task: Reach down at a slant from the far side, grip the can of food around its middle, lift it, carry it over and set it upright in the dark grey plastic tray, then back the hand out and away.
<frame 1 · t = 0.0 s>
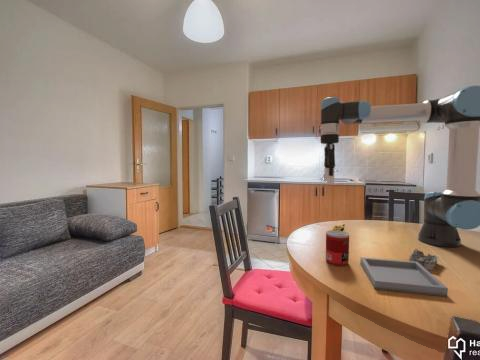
hand: (328, 182, 108), 28 cm above the table, tool pointing down, fingers open, 13 cm apart
remote control: (340, 229, 136), on the table
tray: (397, 278, 77), on the table
canned food: (336, 262, 90), on the table
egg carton: (423, 265, 88), on the table
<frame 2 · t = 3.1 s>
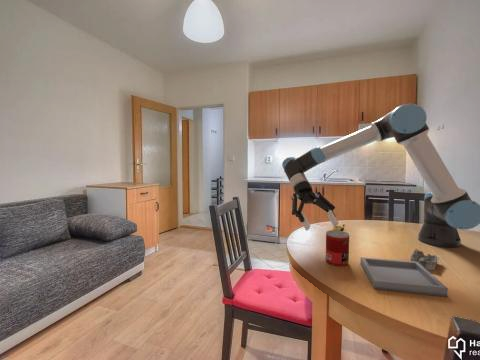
hand: (322, 226, 96), 11 cm above the table, tool tilted 45°, fingers open, 13 cm apart
nothing on the table moved.
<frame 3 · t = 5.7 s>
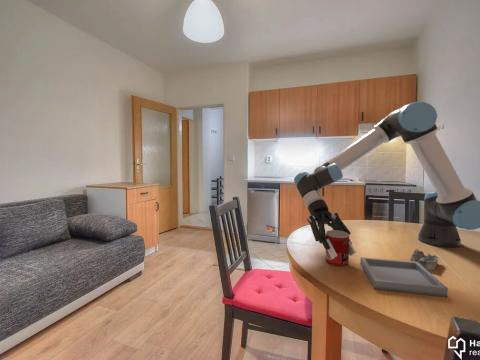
hand: (344, 255, 87), 4 cm above the table, tool tilted 45°, fingers closed on canned food, 8 cm apart
canned food: (336, 262, 90), on the table, touching gripper
everything else where it was.
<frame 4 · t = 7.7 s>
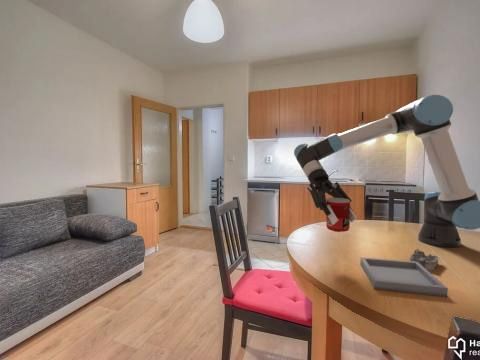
hand: (344, 221, 86), 16 cm above the table, tool tilted 45°, fingers closed on canned food, 8 cm apart
canned food: (337, 229, 89), point 12 cm above the table, touching gripper
everything else where it was.
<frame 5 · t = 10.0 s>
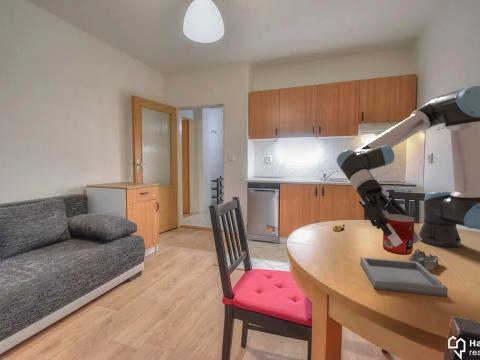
hand: (408, 243, 73), 13 cm above the table, tool tilted 45°, fingers closed on canned food, 8 cm apart
canned food: (397, 251, 77), point 9 cm above the table, touching gripper
everything else where it was.
when the fingers open (6 cm above the table, at t = 11.5 s): canned food drops 1 cm, resting on tray.
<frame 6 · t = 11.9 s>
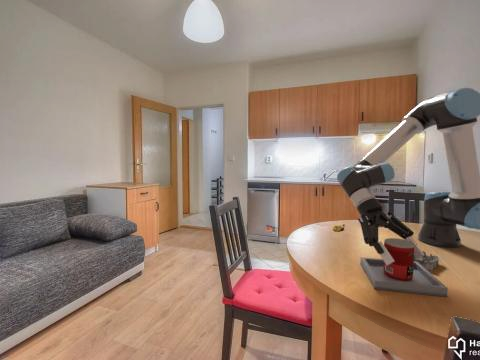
hand: (406, 260, 74), 7 cm above the table, tool tilted 45°, fingers open, 12 cm apart
canned food: (397, 276, 77), point 1 cm above the table, touching tray
everything else where it was.
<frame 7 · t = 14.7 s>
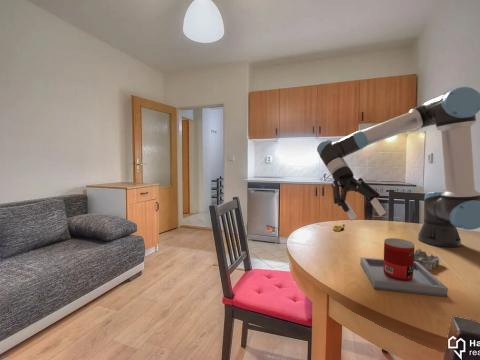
hand: (368, 216, 88), 17 cm above the table, tool tilted 40°, fingers open, 13 cm apart
nothing on the table moved.
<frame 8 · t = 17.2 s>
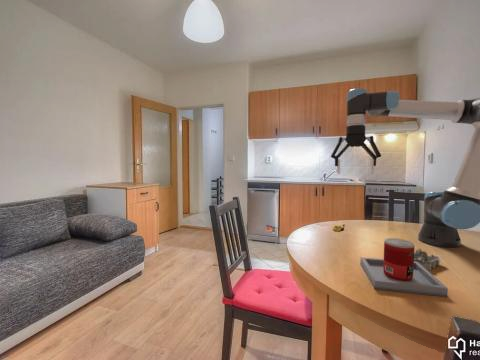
hand: (354, 173, 109), 32 cm above the table, tool pointing down, fingers open, 13 cm apart
nothing on the table moved.
at the end: canned food inside the target area on the tray (0.1 cm from its centre), point 0.6 cm above the tray's base; canned food tilted 0°; the gripper is holding nothing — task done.
